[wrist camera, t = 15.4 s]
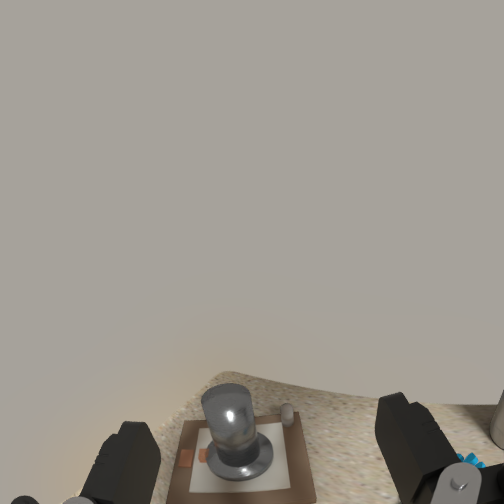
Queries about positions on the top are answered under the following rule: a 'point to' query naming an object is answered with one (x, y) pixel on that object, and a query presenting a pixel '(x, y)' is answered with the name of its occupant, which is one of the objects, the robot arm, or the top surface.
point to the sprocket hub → (234, 435)
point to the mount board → (251, 491)
